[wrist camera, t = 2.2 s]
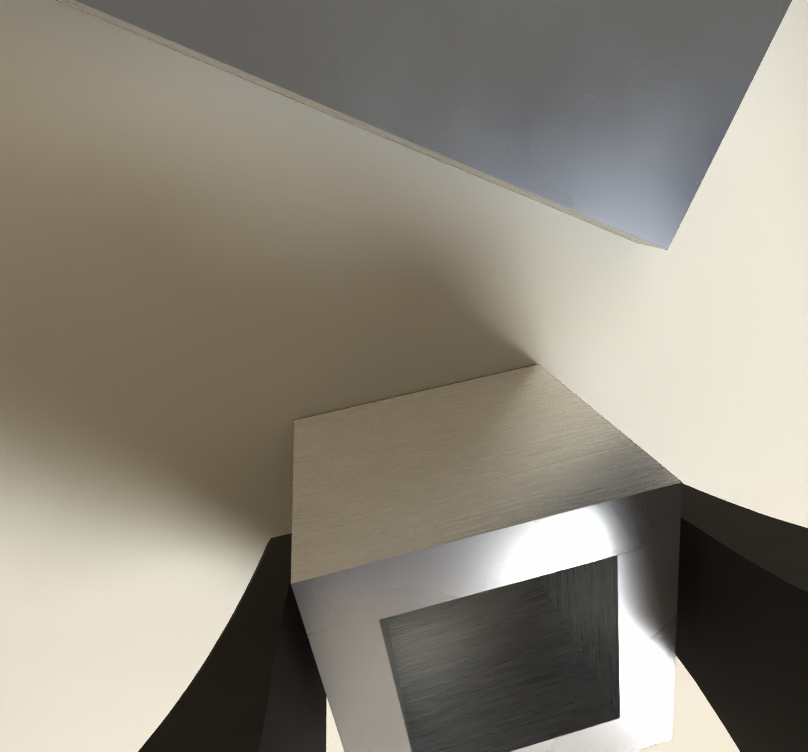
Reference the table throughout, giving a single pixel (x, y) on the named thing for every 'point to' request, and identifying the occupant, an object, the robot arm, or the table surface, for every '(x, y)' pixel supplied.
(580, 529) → the collar
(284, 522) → the table surface
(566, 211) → the plate
